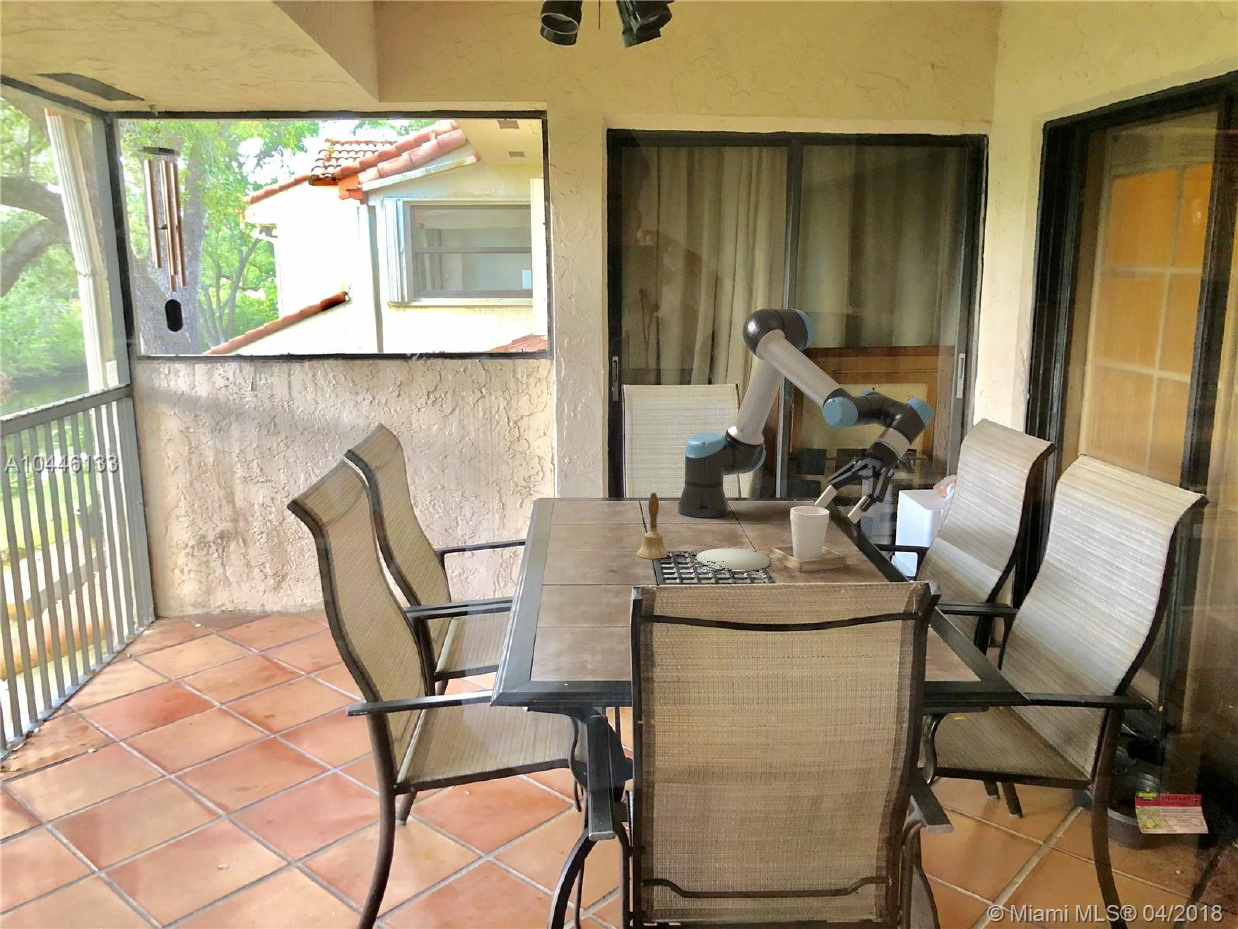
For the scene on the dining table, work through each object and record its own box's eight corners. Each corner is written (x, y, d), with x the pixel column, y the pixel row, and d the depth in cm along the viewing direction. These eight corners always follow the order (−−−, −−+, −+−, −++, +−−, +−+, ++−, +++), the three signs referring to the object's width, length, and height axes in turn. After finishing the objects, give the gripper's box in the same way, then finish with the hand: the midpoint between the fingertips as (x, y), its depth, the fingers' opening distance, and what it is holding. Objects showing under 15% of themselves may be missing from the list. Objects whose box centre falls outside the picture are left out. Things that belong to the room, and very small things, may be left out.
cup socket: (768, 556, 228) (769, 547, 227) (814, 551, 233) (814, 542, 233) (799, 572, 216) (799, 562, 215) (846, 566, 221) (847, 556, 220)
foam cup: (826, 568, 219) (829, 516, 217) (787, 565, 221) (790, 513, 218) (825, 557, 228) (828, 507, 226) (788, 555, 230) (791, 505, 228)
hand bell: (659, 561, 222) (660, 498, 219) (630, 556, 226) (631, 493, 224) (675, 554, 229) (677, 492, 226) (647, 548, 233) (648, 488, 231)
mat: (681, 559, 225) (681, 556, 225) (729, 546, 236) (729, 544, 236) (736, 576, 211) (736, 573, 211) (784, 562, 223) (784, 560, 223)
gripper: (929, 468, 217) (874, 535, 214) (863, 452, 240) (812, 512, 237) (913, 448, 214) (857, 515, 211) (847, 433, 237) (796, 493, 234)
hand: (833, 513), depth 224 cm, fingers open, 13 cm apart
